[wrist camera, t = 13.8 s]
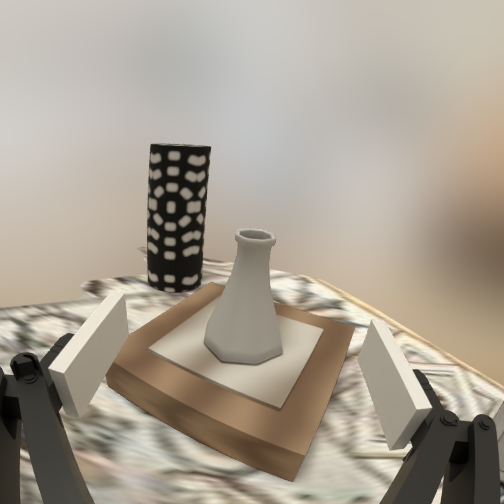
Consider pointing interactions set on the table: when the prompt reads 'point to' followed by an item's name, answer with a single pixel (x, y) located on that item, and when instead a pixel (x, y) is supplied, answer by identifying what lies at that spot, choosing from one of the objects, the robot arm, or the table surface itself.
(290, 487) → the table surface
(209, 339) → the flask
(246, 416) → the walnut plinth
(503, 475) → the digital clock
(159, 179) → the white-spotted black cylinder
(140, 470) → the table surface
